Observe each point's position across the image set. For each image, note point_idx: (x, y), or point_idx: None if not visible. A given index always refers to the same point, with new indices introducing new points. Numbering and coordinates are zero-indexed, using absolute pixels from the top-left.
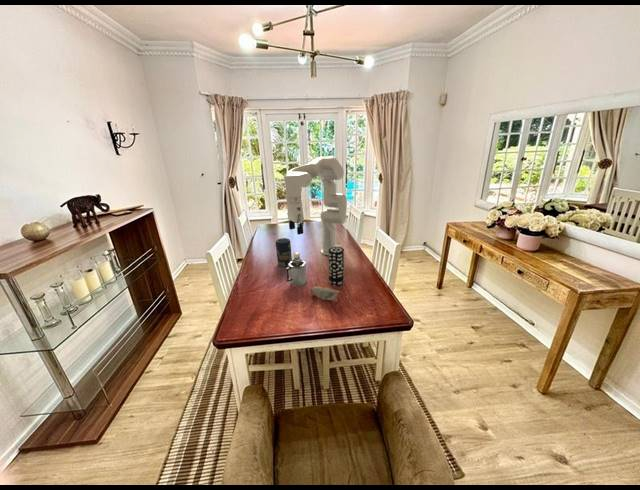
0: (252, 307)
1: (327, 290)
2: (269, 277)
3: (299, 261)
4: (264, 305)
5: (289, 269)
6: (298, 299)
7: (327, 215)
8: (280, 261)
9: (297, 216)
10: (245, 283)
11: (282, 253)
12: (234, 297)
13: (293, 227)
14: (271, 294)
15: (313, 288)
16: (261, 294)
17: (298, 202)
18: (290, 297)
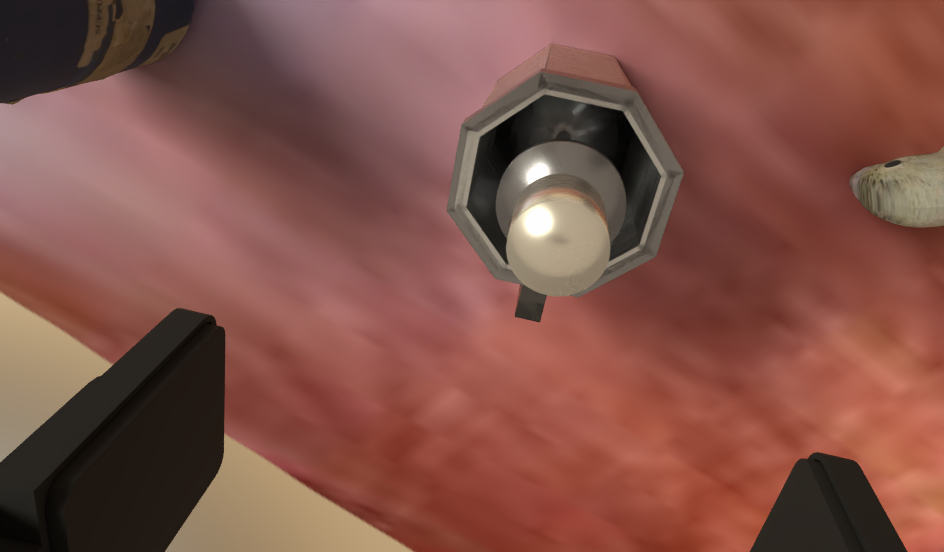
0: (588, 532)
1: None
2: (300, 257)
3: (612, 202)
4: (631, 483)
5: None
6: (782, 300)
7: None
8: (129, 68)
9: None
10: (273, 421)
11: (81, 63)
12: (401, 539)
13: (199, 395)
14: (550, 387)
15: (917, 222)
16: (495, 429)
17: None
18: (704, 323)
